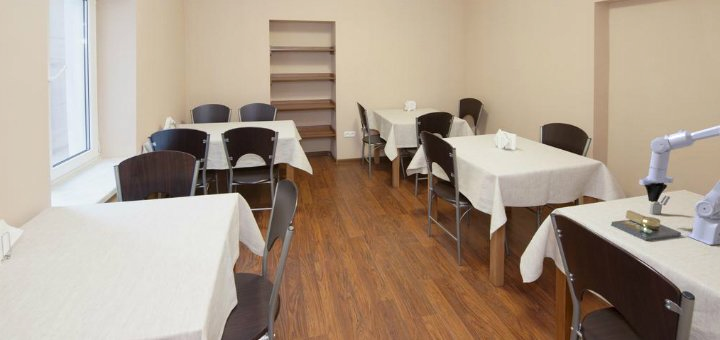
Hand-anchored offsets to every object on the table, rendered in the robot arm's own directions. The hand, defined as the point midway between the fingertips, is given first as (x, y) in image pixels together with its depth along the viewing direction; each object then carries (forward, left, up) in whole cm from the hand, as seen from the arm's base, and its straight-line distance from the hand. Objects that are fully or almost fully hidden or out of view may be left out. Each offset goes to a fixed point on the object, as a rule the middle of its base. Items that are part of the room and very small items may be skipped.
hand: (652, 201), depth 177 cm
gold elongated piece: (-3, +7, -8) cm, 11 cm away
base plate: (-6, +8, -9) cm, 14 cm away
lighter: (+8, -14, -10) cm, 19 cm away
